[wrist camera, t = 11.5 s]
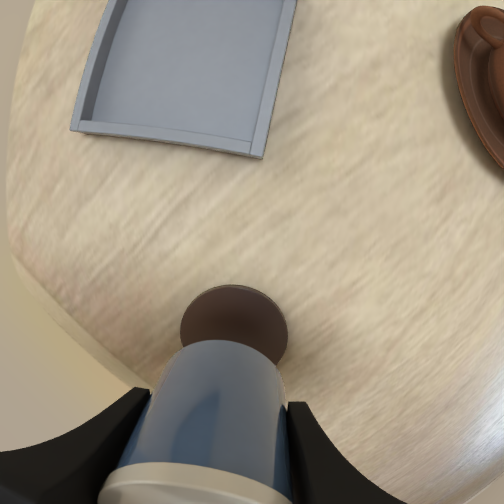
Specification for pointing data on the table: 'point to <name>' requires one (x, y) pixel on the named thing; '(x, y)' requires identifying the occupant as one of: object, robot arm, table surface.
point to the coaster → (236, 320)
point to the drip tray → (186, 72)
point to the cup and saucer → (483, 74)
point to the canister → (209, 433)
